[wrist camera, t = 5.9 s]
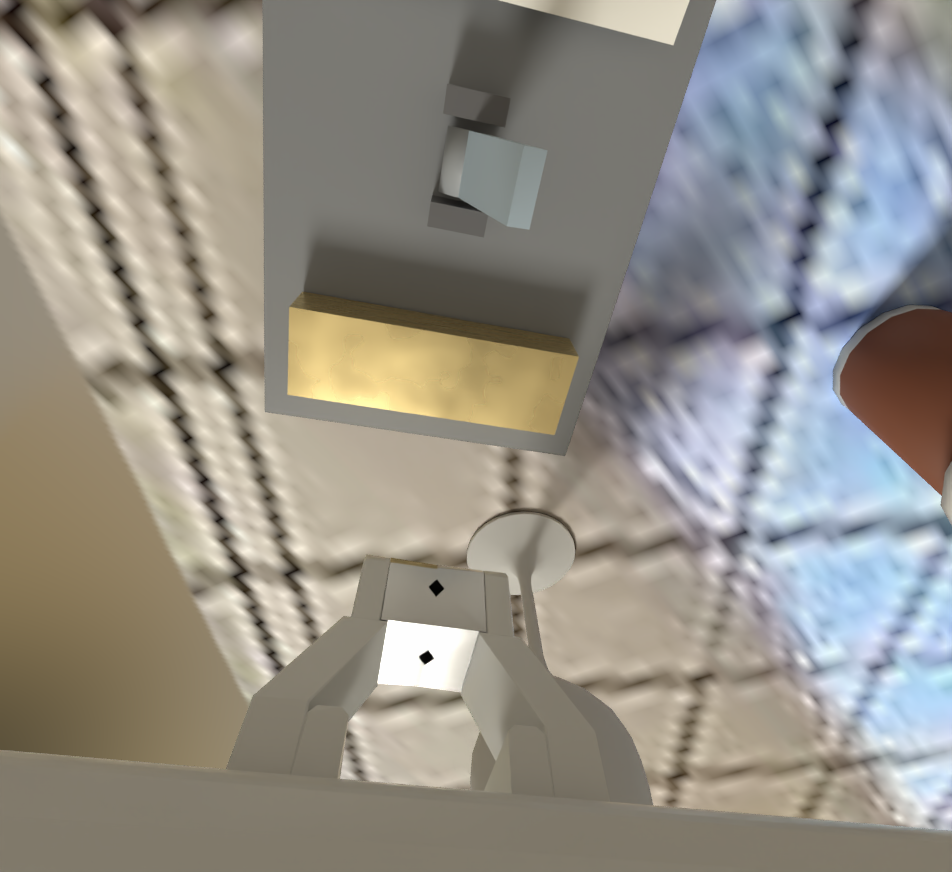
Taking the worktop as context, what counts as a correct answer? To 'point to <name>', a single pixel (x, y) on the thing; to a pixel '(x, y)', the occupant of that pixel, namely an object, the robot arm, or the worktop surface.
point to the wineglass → (531, 570)
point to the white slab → (620, 15)
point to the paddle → (492, 175)
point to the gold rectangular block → (427, 364)
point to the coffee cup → (904, 388)
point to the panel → (420, 163)
